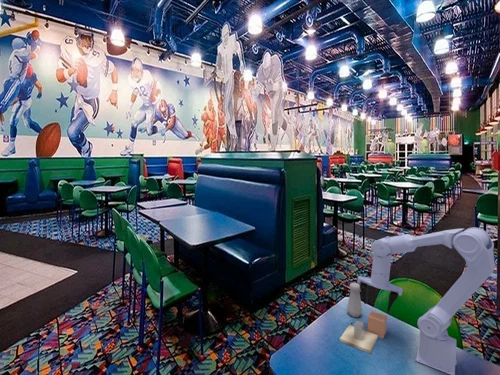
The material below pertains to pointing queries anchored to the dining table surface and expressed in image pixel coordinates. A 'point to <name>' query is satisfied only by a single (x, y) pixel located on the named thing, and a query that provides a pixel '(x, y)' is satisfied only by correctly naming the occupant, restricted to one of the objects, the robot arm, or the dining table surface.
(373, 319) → the orange tan block
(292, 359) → the dining table surface
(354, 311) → the salt shaker
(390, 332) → the dining table surface
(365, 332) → the birch board
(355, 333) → the steel post
